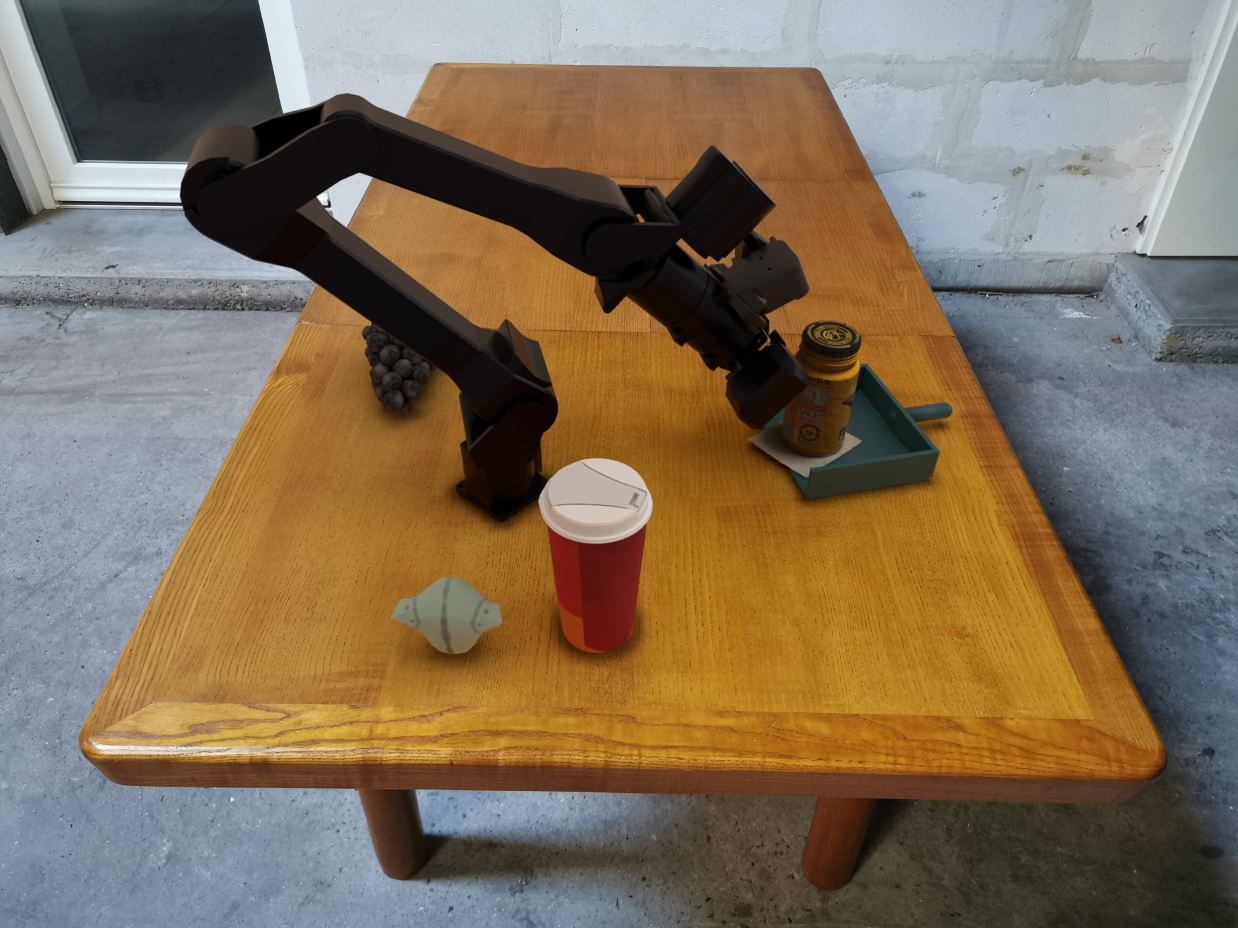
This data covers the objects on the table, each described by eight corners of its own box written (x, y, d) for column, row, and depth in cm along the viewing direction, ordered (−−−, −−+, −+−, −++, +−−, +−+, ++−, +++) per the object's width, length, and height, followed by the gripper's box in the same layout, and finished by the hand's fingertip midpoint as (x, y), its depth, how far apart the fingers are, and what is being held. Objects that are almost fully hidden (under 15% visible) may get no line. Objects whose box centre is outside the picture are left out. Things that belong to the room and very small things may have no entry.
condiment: (861, 442, 86) (887, 336, 78) (805, 479, 81) (826, 370, 74) (803, 408, 90) (822, 304, 82) (747, 441, 85) (761, 335, 78)
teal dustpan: (806, 500, 80) (812, 471, 77) (749, 405, 91) (753, 378, 89) (987, 471, 83) (997, 443, 81) (910, 383, 94) (917, 356, 92)
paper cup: (659, 601, 70) (667, 467, 61) (628, 676, 64) (632, 540, 56) (568, 577, 72) (562, 443, 63) (530, 648, 66) (518, 512, 57)
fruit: (403, 352, 81) (425, 272, 92) (323, 376, 83) (355, 294, 94) (444, 421, 87) (460, 338, 98) (368, 443, 88) (393, 358, 99)
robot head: (397, 666, 65) (383, 605, 61) (410, 623, 68) (397, 562, 64) (505, 672, 65) (498, 611, 60) (513, 628, 68) (507, 567, 64)
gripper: (799, 276, 62) (911, 383, 71) (716, 176, 76) (818, 276, 85) (688, 384, 66) (807, 472, 75) (628, 270, 80) (735, 356, 89)
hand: (792, 386), depth 81 cm, fingers closed, pressing on condiment
